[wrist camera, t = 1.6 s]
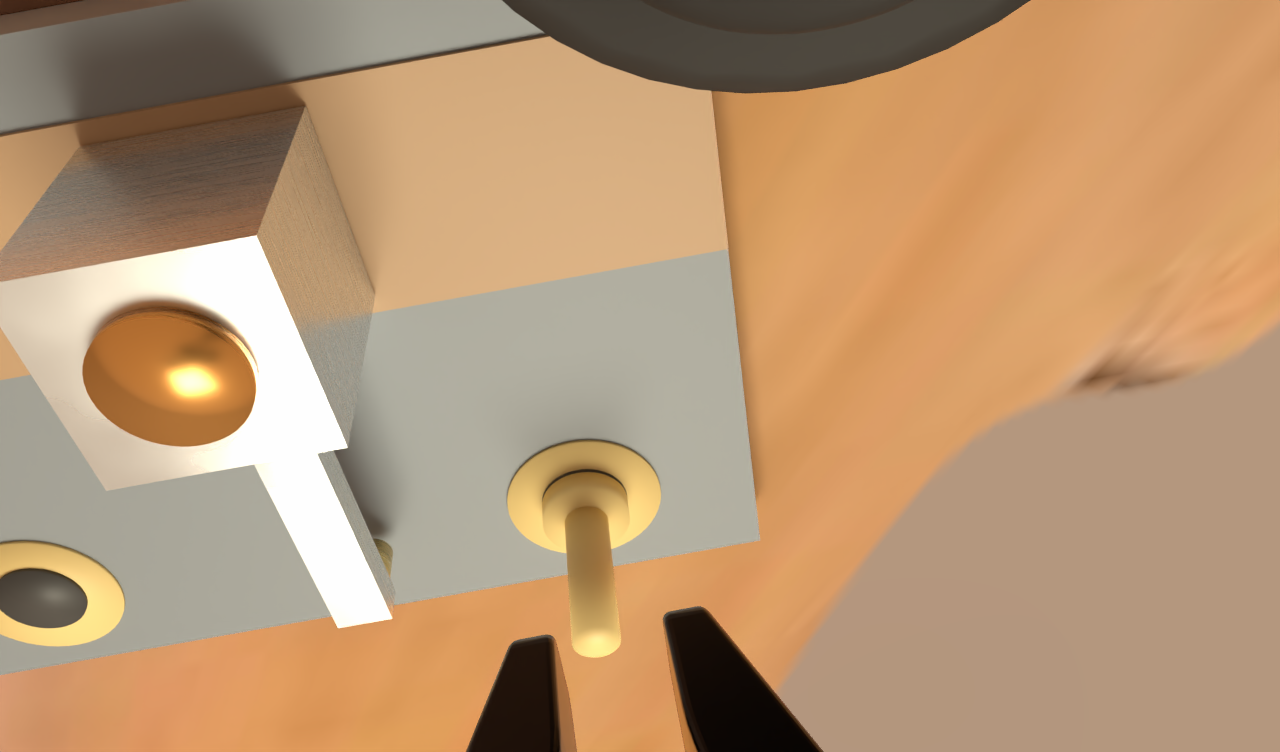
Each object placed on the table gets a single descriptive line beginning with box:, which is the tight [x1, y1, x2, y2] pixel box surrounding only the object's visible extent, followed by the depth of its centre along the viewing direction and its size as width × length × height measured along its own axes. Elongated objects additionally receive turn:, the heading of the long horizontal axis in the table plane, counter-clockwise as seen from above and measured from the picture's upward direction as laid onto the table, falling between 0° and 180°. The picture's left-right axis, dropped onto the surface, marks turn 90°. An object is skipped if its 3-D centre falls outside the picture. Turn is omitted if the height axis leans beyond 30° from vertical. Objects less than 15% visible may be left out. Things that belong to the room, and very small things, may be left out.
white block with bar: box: [0, 106, 396, 628], centre depth 20 cm, size 4×11×5 cm, turn 9°
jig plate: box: [0, 0, 760, 675], centre depth 20 cm, size 22×15×5 cm
